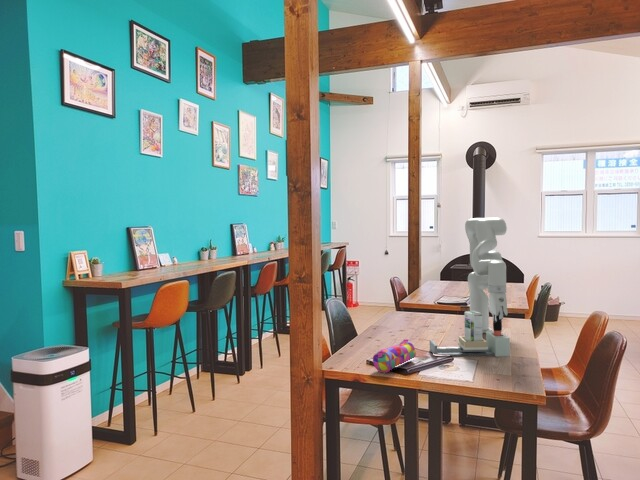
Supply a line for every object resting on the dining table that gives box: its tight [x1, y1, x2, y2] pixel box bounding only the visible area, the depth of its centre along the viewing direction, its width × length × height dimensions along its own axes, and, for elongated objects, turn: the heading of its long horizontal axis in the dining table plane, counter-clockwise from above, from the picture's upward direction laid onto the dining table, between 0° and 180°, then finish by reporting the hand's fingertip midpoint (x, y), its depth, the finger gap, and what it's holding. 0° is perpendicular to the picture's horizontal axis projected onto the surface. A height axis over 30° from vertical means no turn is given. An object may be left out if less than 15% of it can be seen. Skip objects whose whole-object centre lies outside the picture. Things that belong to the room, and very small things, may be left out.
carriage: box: [457, 335, 488, 352], centre depth 202 cm, size 10×10×5 cm
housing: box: [485, 330, 511, 357], centre depth 202 cm, size 12×6×8 cm, turn 179°
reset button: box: [493, 330, 502, 336], centre depth 202 cm, size 3×3×7 cm
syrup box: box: [464, 310, 484, 341], centre depth 202 cm, size 6×6×14 cm
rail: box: [429, 339, 496, 358], centre depth 202 cm, size 10×26×5 cm, turn 89°
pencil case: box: [372, 339, 416, 374], centre depth 186 cm, size 22×9×9 cm, turn 142°
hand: (497, 330), depth 201 cm, fingers closed
